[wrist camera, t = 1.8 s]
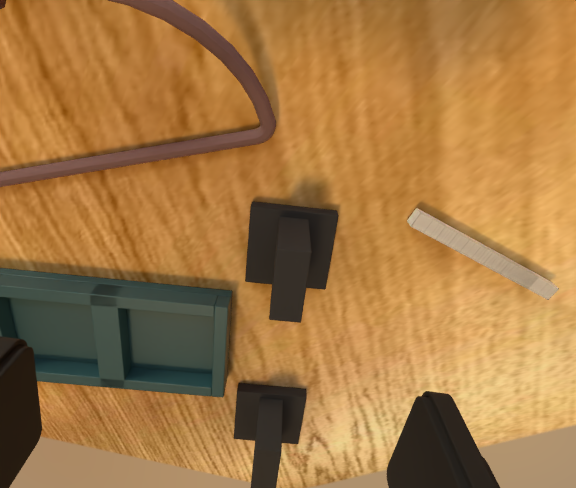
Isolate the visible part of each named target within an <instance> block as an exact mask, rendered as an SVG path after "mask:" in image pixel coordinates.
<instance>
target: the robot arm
mask: <svg viewBox="0 0 576 488" xmlns="http://www.w3.org/2000/svg"><path fill="white" fill-rule="evenodd" d="M41 431H42V423H41V414H40V405H39V396H38V387H37V378H36V369H35V360H34V351H33V348H32V347H28V346H27V342H26V341H25V340H23V339H16V338H8V337H0V488H9V487H10V485H11V484H12V482H13V480H14V479H15V477H16V476H17V474H18V473H19V471H20V470H21V468H22V466H23V465H24V463H25V462H26V460H27V459H28V457H29V456H30V454H31V452H32V451H33V449H34V448H35V446H36V444H37V443H38V441H39V438H40V435H41ZM387 481H388V486H389V488H500V487H499V485H498V483H497V481H496V479H495V477H494V475H493V473H492V471H491V469H490V467H489V465H488V464H487V462H486V460H485V459H484V458H483V457H482V456H481V454H480V452H479V450H478V448H477V446H476V444H475V442H474V440H473V438H472V436H471V434H470V432H469V430H468V428H467V426H466V424H465V422H464V420H463V418H462V416H461V414H460V412H459V410H458V408H457V406H456V404H455V402H454V400H453V398H452V397H451V396H450V395H449V394H444V393H437V392H429V391H426V392H424V393H423V395H422V397H421V396H418V397H417V398H416V399H415V401H414V404H413V406H412V409H411V411H410V414H409V416H408V418H407V421H406V423H405V426H404V428H403V430H402V433H401V435H400V438H399V440H398V443H397V445H396V447H395V450H394V452H393V455H392V457H391V459H390V462H389V464H388V467H387Z"/></svg>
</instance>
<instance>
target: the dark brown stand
mask: <svg viewBox="0 0 576 488" xmlns="http://www.w3.org/2000/svg"><path fill="white" fill-rule="evenodd" d="M337 221H338V213H337V211H336V210H327V209H318V208H309V207H299V206H290V205H281V204H271V203H262V202H252V204H251V210H250V224H249V238H248V251H247V265H246V278H245V281H246V282H254V283H264V284H272V293H271V304H270V316H269V319H270V320H279V321H290V322H301V318H302V312H303V305H304V299H305V292H306V288H314V289H324V290H325V289H326V283H327V278H328V272H329V266H330V261H331V255H332V249H333V244H334V238H335V232H336V227H337Z"/></svg>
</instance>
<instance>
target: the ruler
mask: <svg viewBox="0 0 576 488" xmlns="http://www.w3.org/2000/svg"><path fill="white" fill-rule="evenodd" d="M407 222H408V223H409V225H410V226H411V227H413V228H414V229H416V230H418V231H420V232H422V233H424V234H426V235H428V236H429V237H431V238H433V239H435V240H437V241H439V242H441V243H443V244H444V245H446V246H448V247H450V248H452V249H454V250H456V251H457V252H459V253H461V254H463V255H465V256H467V257H469V258H471V259H472V260H474V261H476V262H478V263H480V264H482V265H484V266H486V267H487V268H489V269H491V270H493V271H495V272H497V273H499V274H500V275H502V276H504V277H506V278H508V279H510V280H512V281H514V282H515V283H517V284H519V285H521V286H523V287H525V288H527V289H529V290H530V291H532V292H534V293H536V294H538V295H540V296H542V297H543V298H545V299H547V300H549V299H550V298H551V297H552V296H553V295H554V294H555V292H556V291H557V290H558V289H559V288H558V287H557V286H556V285H555V284H553V283H552V282H551V281H549V280H547V279H546V278H544V277H542V276H540V275H538V274H536V273H535V272H533V271H531V270H529V269H527V268H526V267H524V266H522V265H520V264H518V263H516V262H515V261H513V260H511V259H509V258H507V257H505V256H504V255H502V254H500V253H498V252H496V251H495V250H493V249H491V248H489V247H487V246H485V245H484V244H482V243H480V242H478V241H476V240H474V239H473V238H471V237H469V236H467V235H465V234H463V233H462V232H460V231H458V230H456V229H454V228H453V227H451V226H449V225H447V224H445V223H443V222H442V221H440V220H438V219H436V218H434V217H432V216H431V215H429V214H427V213H425V212H423V211H422V210H420V209H418V208H416V209H415V210H414V212H413V213H412V215H411V216H410V217H409V219H408V220H407Z"/></svg>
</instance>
